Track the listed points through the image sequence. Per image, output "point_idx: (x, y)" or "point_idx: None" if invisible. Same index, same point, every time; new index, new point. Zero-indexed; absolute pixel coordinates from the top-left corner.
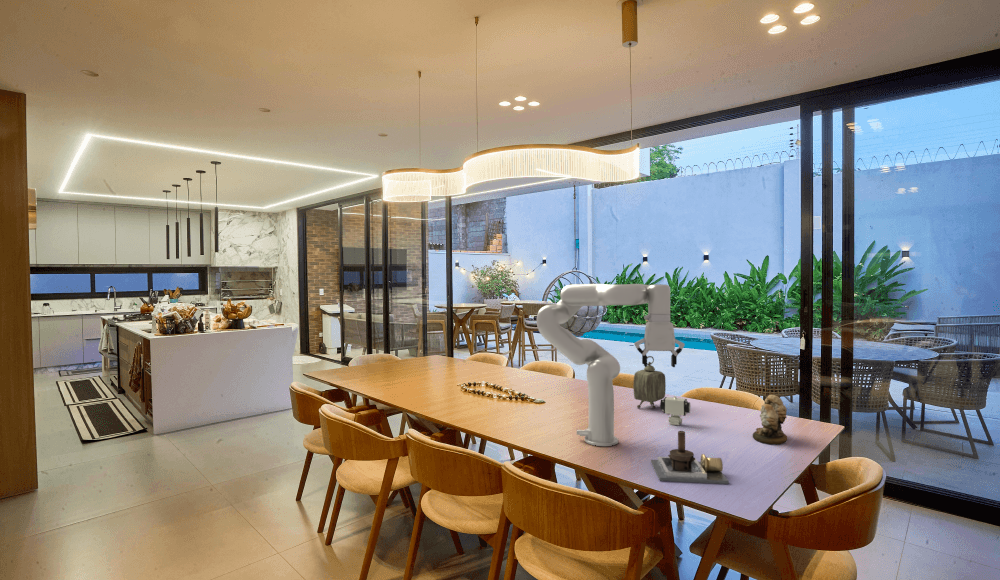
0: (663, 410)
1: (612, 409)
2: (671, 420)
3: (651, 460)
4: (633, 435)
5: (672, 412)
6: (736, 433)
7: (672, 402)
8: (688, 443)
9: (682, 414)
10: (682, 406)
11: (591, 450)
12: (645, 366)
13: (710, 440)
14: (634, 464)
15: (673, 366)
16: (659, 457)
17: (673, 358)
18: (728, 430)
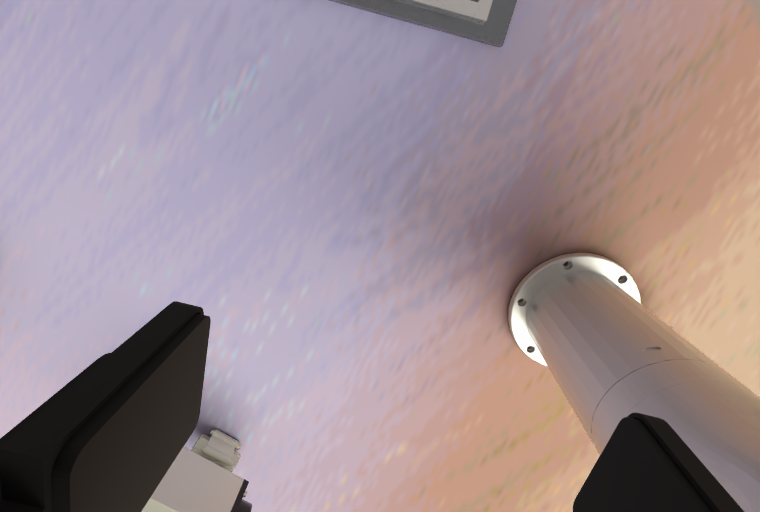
0: (244, 491)
1: (605, 352)
2: (231, 451)
3: (505, 35)
4: (419, 356)
5: (216, 471)
6: (41, 326)
7: (197, 508)
8: (256, 247)
9: (184, 451)
10: (167, 478)
11: (658, 221)
12: (653, 417)
13: (162, 267)
14: (576, 35)
15: (197, 315)
16: (485, 5)
17: (96, 413)
18: (59, 359)
